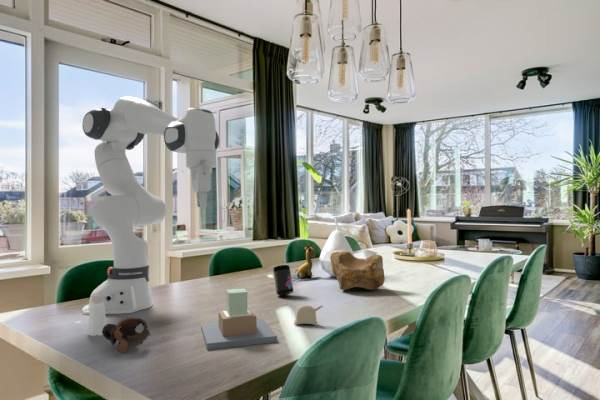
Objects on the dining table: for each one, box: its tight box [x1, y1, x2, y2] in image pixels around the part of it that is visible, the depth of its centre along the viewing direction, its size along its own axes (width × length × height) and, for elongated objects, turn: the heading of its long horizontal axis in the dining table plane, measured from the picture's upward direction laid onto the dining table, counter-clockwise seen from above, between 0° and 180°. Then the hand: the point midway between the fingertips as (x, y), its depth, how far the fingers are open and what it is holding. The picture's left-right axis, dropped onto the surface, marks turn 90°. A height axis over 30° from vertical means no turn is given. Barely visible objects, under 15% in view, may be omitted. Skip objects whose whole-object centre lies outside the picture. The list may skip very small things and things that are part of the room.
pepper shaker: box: [86, 294, 107, 337], centre depth 121 cm, size 5×5×11 cm
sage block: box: [225, 287, 248, 316], centre depth 119 cm, size 5×5×6 cm
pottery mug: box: [102, 316, 151, 354], centre depth 109 cm, size 12×9×8 cm
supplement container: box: [272, 264, 294, 297], centre depth 167 cm, size 7×7×10 cm
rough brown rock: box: [330, 251, 385, 291], centre depth 177 cm, size 23×17×15 cm
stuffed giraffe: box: [291, 244, 321, 283], centre depth 205 cm, size 16×18×16 cm
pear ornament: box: [318, 218, 355, 278], centre depth 209 cm, size 16×22×28 cm
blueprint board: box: [200, 307, 278, 350], centre depth 119 cm, size 18×18×6 cm
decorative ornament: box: [293, 304, 323, 326], centre depth 129 cm, size 4×8×5 cm, turn 87°
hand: (201, 207), depth 131 cm, fingers open, 8 cm apart
